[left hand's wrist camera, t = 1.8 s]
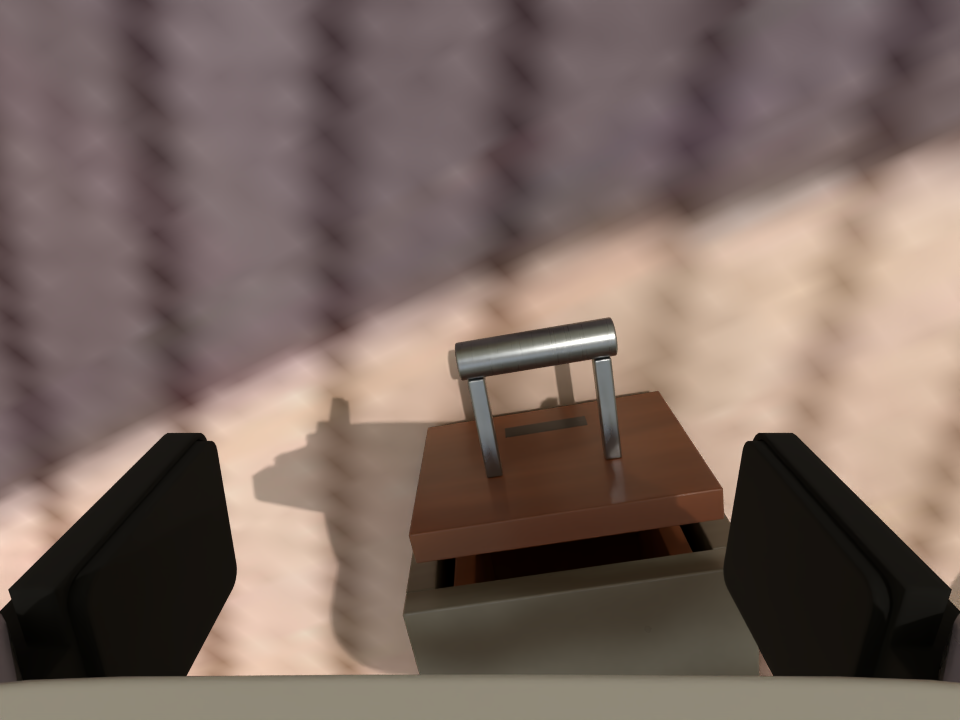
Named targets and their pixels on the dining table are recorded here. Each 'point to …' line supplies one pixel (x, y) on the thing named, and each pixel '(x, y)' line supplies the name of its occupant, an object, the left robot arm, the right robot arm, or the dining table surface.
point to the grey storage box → (586, 618)
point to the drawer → (557, 470)
